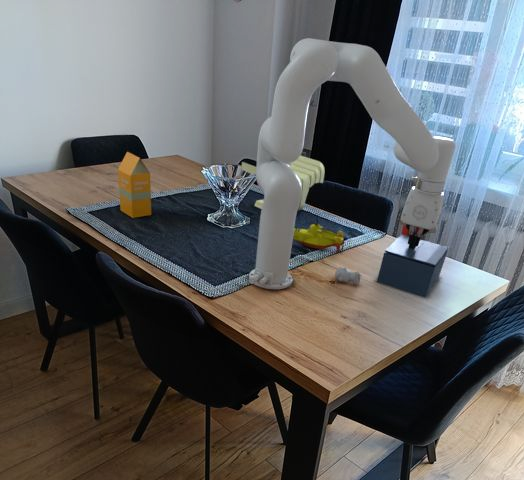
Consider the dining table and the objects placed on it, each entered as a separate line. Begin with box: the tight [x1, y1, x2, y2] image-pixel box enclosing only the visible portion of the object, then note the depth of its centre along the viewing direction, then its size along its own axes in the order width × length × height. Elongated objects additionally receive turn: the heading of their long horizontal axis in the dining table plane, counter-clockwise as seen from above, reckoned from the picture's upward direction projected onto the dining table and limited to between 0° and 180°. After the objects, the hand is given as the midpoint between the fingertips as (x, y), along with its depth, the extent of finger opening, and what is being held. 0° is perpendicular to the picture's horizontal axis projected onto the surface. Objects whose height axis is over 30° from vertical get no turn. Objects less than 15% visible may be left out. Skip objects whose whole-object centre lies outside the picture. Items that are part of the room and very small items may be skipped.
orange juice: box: [117, 151, 152, 219], centre depth 172 cm, size 8×9×20 cm
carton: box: [376, 240, 449, 298], centre depth 150 cm, size 17×15×10 cm
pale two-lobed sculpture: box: [334, 266, 361, 286], centre depth 146 cm, size 4×8×5 cm
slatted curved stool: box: [241, 154, 326, 212], centre depth 192 cm, size 30×16×18 cm, turn 136°
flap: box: [384, 233, 425, 259], centre depth 149 cm, size 17×7×1 cm, turn 151°
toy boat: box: [293, 218, 346, 253], centre depth 164 cm, size 6×18×10 cm, turn 78°
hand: (412, 247), depth 148 cm, fingers closed
